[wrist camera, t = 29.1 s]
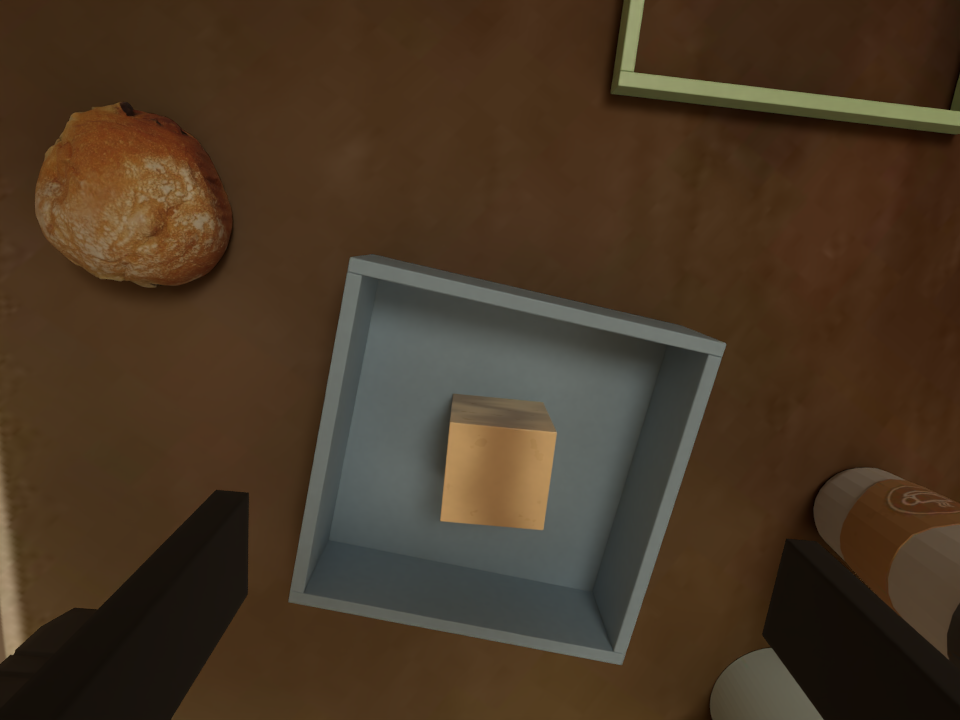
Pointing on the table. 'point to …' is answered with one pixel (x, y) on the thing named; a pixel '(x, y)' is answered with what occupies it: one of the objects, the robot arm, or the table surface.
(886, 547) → the coffee cup
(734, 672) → the mug
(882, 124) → the frame
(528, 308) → the bin
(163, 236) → the bread roll
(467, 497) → the block
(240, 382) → the table surface
